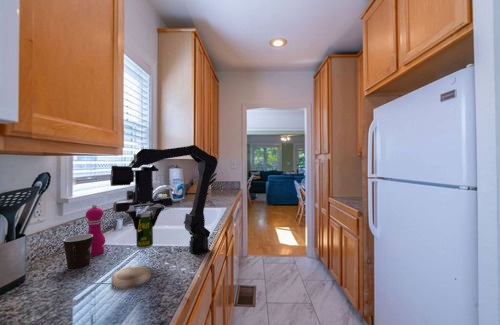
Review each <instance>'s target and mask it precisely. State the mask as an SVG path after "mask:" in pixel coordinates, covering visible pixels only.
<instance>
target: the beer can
mask: <svg viewBox="0 0 500 325" xmlns="http://www.w3.org/2000/svg"><path fill="white" fill-rule="evenodd" d="M136 217H137V230H136V248H137V249H138V250H140V249H141V250H145V249H149V248H152V247H153V244H154V227H153V215H152V211H140V212H136Z"/></svg>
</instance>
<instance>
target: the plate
mask: <svg viewBox="0 0 500 325" xmlns="http://www.w3.org/2000/svg"><path fill="white" fill-rule="evenodd" d="M151 279H152V268H151V267H149V266H147V265H133V266H129V267H125V268H122V269H120V270H117V271H116V272H114V273H113V274H112V275H111V287H112V288H114V287H115V289H116V288H118V290H127V289H133V288H137V287H140V286H142V285H144V284H146V283H147V282H149V281H150V280H151Z"/></svg>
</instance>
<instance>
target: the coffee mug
mask: <svg viewBox="0 0 500 325" xmlns="http://www.w3.org/2000/svg"><path fill="white" fill-rule="evenodd" d="M92 240H93V235H92V234H88V233H84V234H76V235H72V236H68V237H65V238H63V247H64V253H65V260H66V266H67V270H70V271H71V270H74V271H75V270H79V269H83V268H84V269H85V268H86V267H88V266H89V265H90V264H91V257H92V256H91V248H92Z"/></svg>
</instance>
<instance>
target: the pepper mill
mask: <svg viewBox="0 0 500 325" xmlns="http://www.w3.org/2000/svg"><path fill="white" fill-rule="evenodd" d="M103 217H104V211H103V209H102V208H100V207H98V204H96V203H94V204H92V205H91V208H89V209H88V210H87V211H86V212H85V218H86V219H87V222H86V224H87V225H88V232H87V234H92V235H93V240H92V248H91V256H90V257H92V256H97V255H101V254H103V253H104V252H105V246H104V245H105V243H106V237H105V235H104V233H103V232H102V228H101V225H102V224H101V223H103V219H102V218H103Z"/></svg>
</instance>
